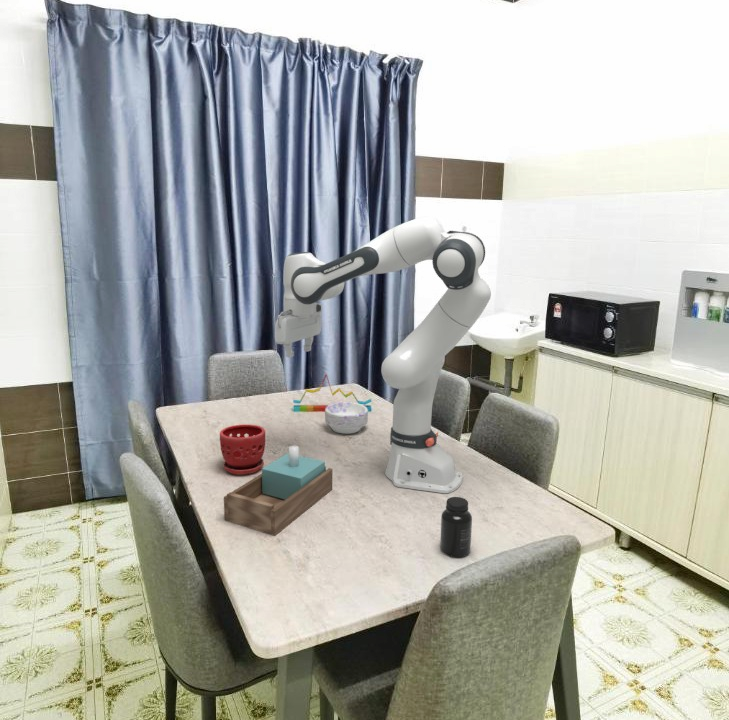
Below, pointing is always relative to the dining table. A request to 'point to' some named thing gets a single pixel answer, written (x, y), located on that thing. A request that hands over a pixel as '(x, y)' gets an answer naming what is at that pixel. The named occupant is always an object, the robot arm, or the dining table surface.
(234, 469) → the plant pot
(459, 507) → the supplement bottle
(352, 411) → the paper bowls
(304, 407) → the chart
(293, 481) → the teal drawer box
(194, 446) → the dining table surface
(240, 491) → the bay
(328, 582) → the dining table surface
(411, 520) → the dining table surface
